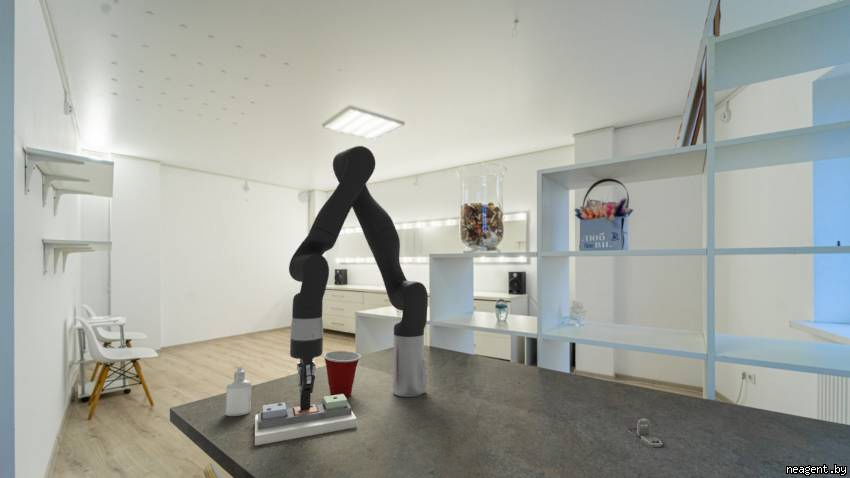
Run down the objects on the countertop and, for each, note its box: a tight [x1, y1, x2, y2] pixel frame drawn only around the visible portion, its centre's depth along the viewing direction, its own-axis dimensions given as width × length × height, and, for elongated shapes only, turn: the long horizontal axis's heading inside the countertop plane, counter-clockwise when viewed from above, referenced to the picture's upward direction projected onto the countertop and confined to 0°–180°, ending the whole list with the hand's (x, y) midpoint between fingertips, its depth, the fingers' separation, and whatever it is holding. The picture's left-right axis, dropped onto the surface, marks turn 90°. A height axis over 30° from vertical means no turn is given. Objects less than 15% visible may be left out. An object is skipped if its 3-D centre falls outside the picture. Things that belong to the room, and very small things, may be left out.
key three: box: [293, 403, 318, 416], centre depth 89 cm, size 5×4×2 cm
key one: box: [322, 394, 348, 409], centre depth 92 cm, size 5×4×2 cm
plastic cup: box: [323, 350, 362, 399], centre depth 109 cm, size 11×11×12 cm
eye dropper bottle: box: [225, 365, 252, 417], centre depth 96 cm, size 4×6×12 cm
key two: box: [262, 401, 288, 419], centre depth 87 cm, size 5×4×2 cm
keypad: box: [254, 401, 358, 446], centre depth 89 cm, size 22×12×4 cm, turn 114°
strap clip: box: [626, 418, 664, 448], centre depth 84 cm, size 8×3×4 cm, turn 6°
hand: (305, 408), depth 89 cm, fingers closed
